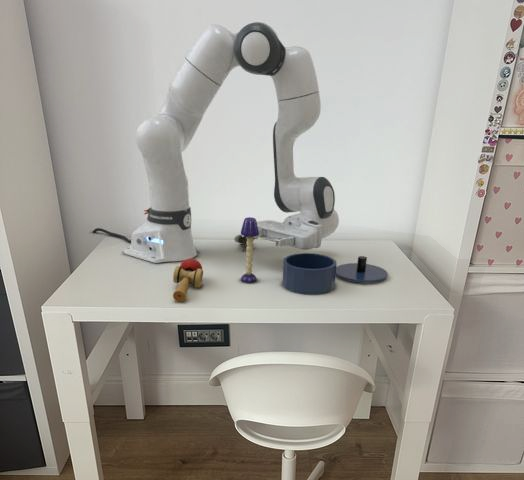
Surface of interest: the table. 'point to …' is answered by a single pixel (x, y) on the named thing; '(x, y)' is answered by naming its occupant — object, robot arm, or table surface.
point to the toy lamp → (249, 247)
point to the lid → (361, 271)
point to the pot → (309, 273)
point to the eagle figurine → (242, 241)
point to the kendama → (187, 277)
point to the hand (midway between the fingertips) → (264, 239)
